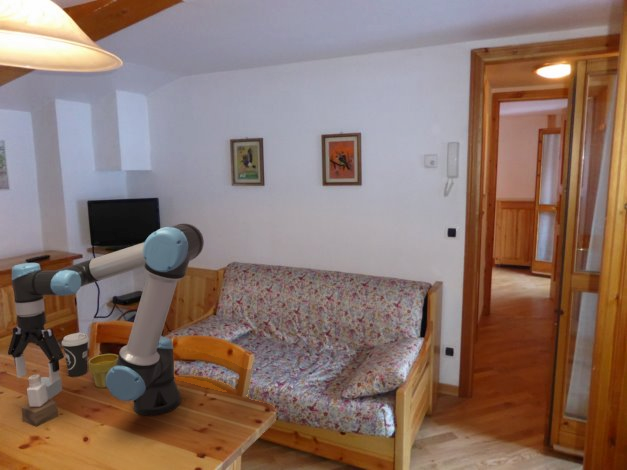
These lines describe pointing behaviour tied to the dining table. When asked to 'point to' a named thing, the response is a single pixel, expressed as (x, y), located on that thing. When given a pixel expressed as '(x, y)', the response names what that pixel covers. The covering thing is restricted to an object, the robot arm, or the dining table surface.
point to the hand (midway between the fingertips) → (38, 378)
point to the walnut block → (40, 413)
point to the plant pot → (101, 367)
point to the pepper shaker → (36, 391)
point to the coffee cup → (76, 353)
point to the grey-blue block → (52, 386)
